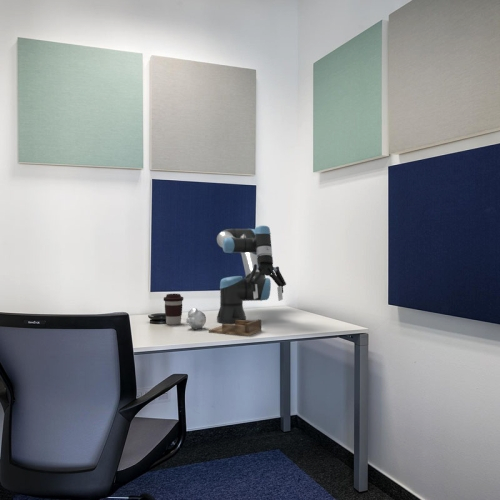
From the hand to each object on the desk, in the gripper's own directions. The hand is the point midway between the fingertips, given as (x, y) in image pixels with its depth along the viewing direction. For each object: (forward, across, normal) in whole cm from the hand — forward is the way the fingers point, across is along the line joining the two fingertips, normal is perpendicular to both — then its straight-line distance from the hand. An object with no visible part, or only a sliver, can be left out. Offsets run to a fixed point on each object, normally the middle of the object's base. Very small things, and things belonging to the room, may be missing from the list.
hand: (268, 299), depth 222 cm
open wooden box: (+14, -14, +8) cm, 22 cm away
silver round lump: (+10, -27, +23) cm, 37 cm away
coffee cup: (+4, -32, +41) cm, 52 cm away
